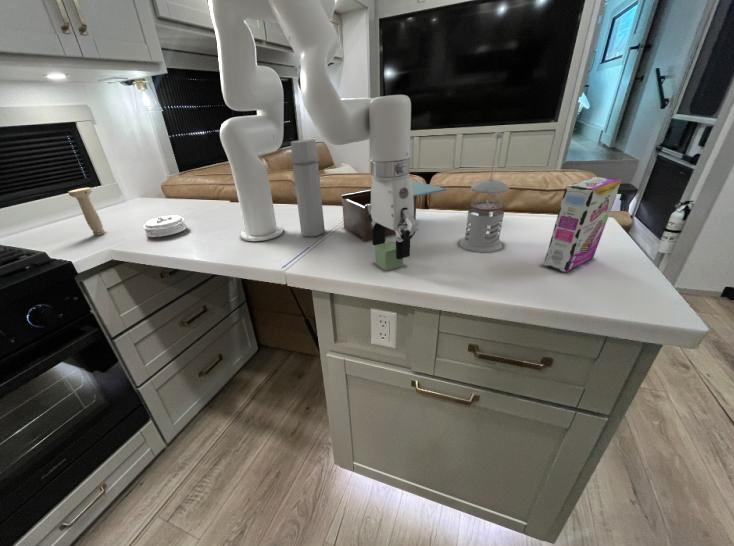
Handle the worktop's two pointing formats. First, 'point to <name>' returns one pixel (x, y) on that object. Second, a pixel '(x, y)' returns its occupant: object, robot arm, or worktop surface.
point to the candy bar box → (581, 222)
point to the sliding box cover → (425, 189)
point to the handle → (88, 209)
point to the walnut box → (362, 215)
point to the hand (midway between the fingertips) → (390, 250)
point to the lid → (164, 226)
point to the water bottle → (307, 186)
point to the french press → (485, 215)
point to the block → (387, 256)
